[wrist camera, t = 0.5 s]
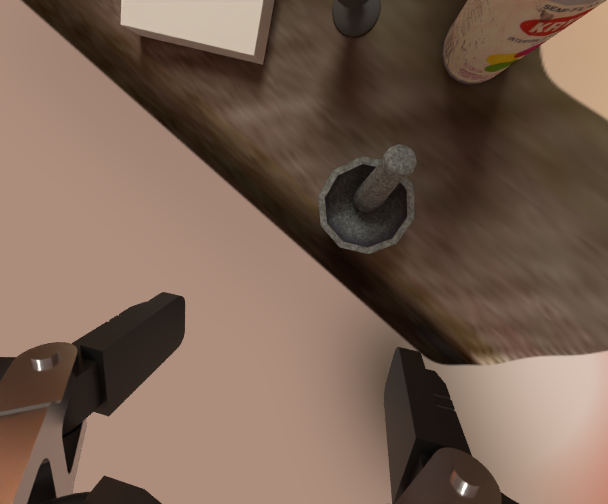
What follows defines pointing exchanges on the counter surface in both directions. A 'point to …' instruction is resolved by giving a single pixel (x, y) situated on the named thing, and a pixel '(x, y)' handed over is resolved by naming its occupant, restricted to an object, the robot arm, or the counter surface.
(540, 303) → the counter surface
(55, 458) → the robot arm
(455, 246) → the counter surface
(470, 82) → the aerosol can
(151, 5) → the cream board
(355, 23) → the sundae
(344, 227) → the mortar and pestle
